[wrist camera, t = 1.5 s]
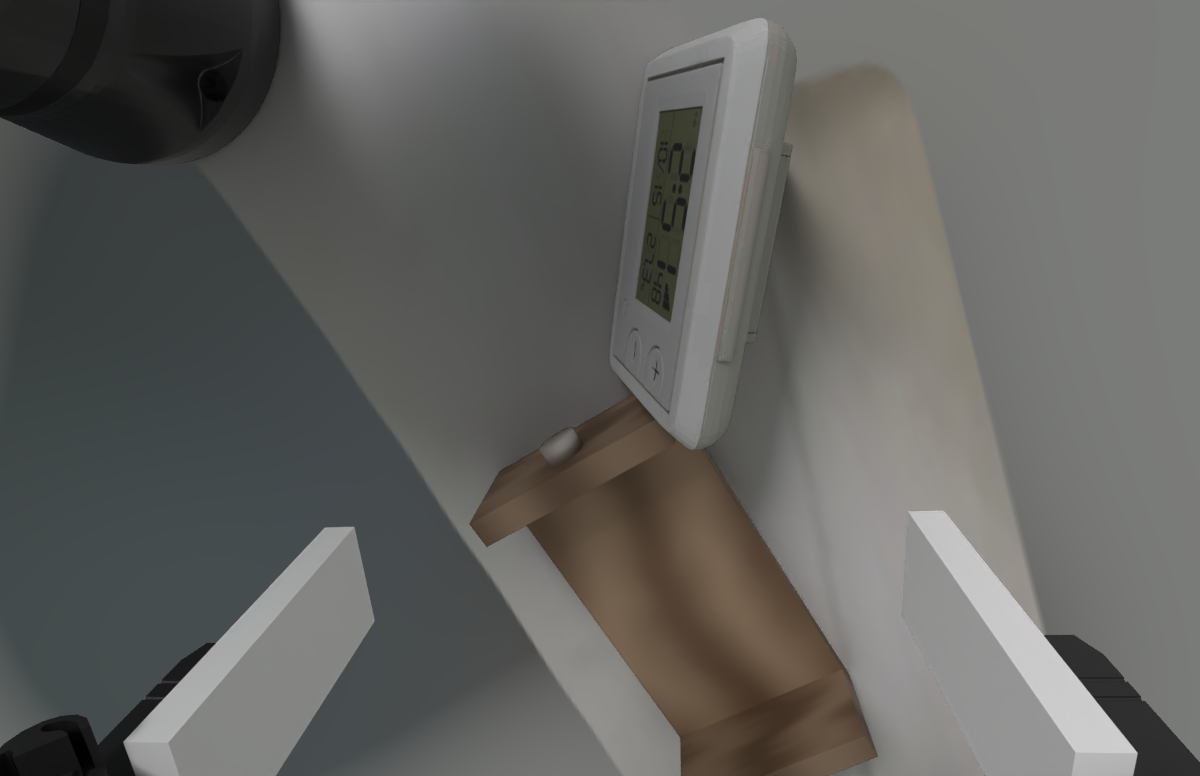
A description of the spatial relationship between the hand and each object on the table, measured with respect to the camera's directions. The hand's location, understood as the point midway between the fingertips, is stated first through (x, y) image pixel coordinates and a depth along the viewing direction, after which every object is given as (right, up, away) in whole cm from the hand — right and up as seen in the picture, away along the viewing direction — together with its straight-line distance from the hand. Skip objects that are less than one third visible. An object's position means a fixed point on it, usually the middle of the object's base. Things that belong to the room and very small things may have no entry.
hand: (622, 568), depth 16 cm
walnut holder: (+4, -7, +24) cm, 26 cm away
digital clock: (+4, +12, +19) cm, 23 cm away
